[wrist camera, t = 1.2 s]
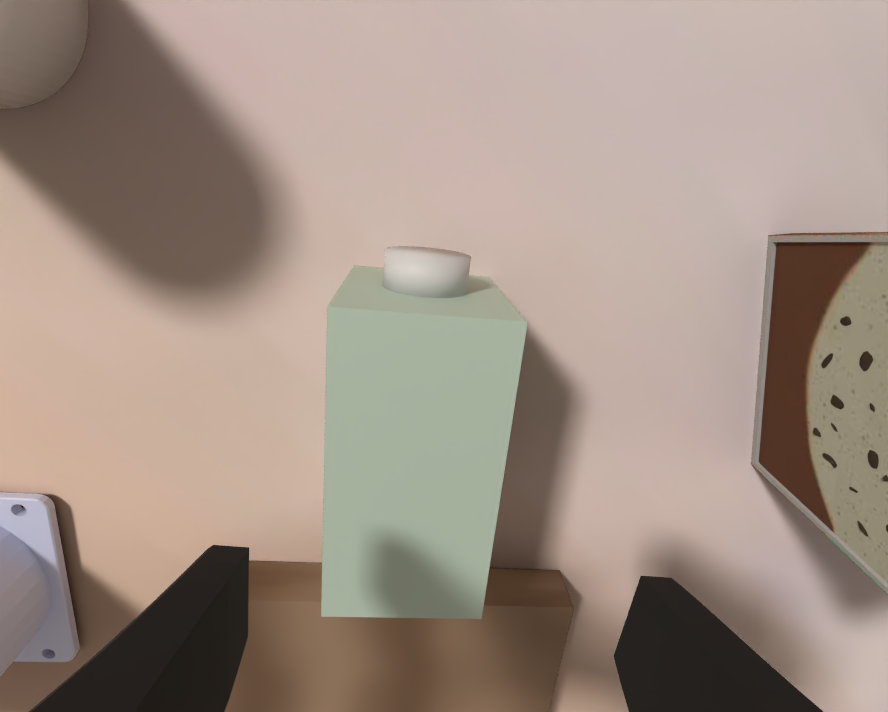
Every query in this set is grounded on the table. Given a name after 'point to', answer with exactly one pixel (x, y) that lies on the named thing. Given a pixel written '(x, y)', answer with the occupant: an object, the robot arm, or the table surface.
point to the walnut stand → (400, 649)
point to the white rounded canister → (39, 48)
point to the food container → (828, 387)
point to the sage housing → (415, 435)
